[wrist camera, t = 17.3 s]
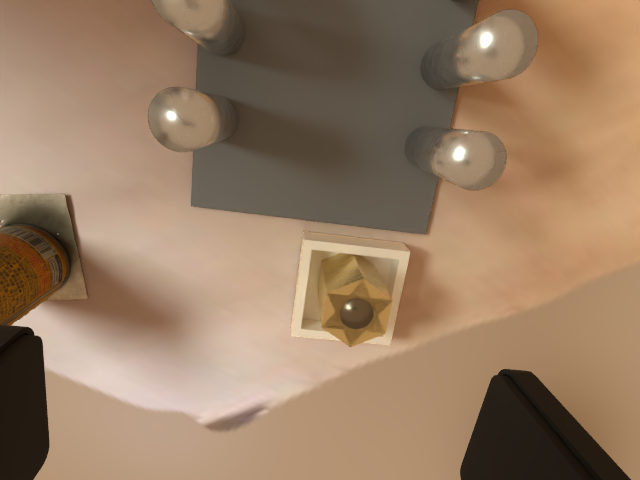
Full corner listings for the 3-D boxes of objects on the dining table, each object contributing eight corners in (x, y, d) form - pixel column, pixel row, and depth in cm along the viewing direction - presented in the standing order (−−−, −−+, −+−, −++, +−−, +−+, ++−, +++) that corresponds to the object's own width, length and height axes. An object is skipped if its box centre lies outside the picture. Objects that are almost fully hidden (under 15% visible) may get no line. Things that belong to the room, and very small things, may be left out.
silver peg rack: (193, 137, 28) (147, 147, 19) (204, -102, 24) (150, -221, 15) (440, 170, 30) (497, 193, 21) (489, -48, 25) (585, -129, 17)
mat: (192, 205, 30) (191, 206, 29) (207, -138, 24) (205, -142, 23) (424, 232, 31) (425, 234, 31) (494, -82, 25) (497, -85, 25)
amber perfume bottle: (315, 303, 32) (318, 344, 26) (323, 245, 31) (329, 275, 25) (367, 308, 33) (382, 350, 27) (378, 251, 31) (396, 282, 25)
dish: (291, 322, 33) (290, 336, 31) (303, 230, 31) (303, 239, 29) (384, 331, 34) (390, 345, 32) (403, 242, 32) (410, 251, 29)
